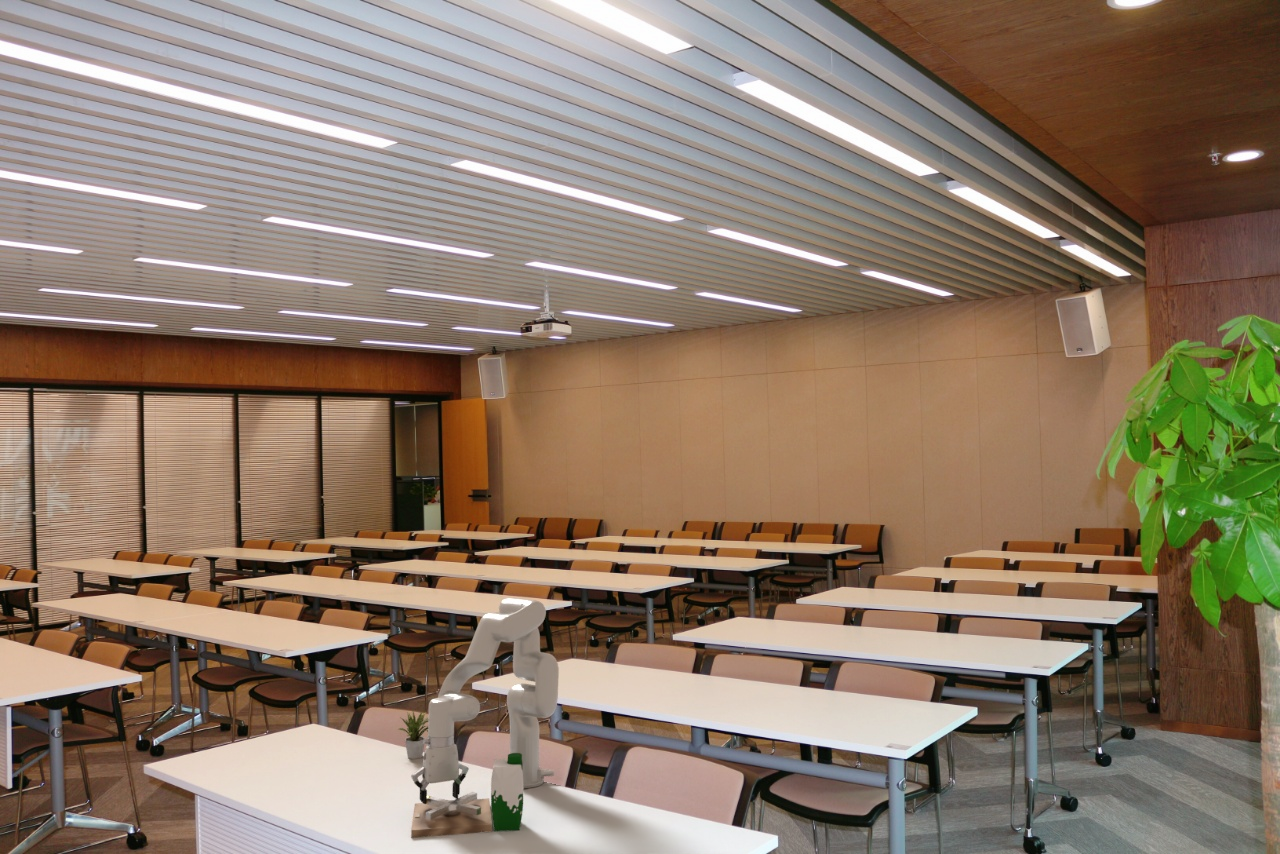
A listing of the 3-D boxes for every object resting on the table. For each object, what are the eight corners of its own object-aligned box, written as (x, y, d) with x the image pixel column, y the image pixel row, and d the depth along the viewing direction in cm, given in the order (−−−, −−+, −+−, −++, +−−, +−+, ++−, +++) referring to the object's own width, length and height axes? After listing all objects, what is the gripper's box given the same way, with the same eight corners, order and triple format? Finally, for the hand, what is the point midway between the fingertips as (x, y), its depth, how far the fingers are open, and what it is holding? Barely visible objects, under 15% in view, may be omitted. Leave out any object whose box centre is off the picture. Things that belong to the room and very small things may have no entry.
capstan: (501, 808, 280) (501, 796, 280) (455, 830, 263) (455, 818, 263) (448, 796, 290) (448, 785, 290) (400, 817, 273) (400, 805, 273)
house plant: (430, 763, 331) (430, 716, 332) (390, 763, 331) (391, 716, 332) (439, 751, 346) (439, 706, 346) (401, 751, 346) (401, 706, 347)
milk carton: (522, 831, 267) (522, 759, 268) (490, 833, 267) (490, 760, 268) (523, 820, 276) (523, 750, 277) (492, 821, 275) (492, 751, 276)
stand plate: (489, 805, 289) (489, 797, 289) (491, 831, 268) (491, 823, 268) (414, 810, 285) (414, 802, 285) (411, 837, 263) (411, 829, 263)
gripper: (416, 747, 276) (415, 808, 275) (473, 740, 285) (471, 799, 283) (408, 742, 282) (407, 801, 281) (464, 734, 291) (463, 792, 290)
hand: (439, 800), depth 282 cm, fingers open, 9 cm apart
